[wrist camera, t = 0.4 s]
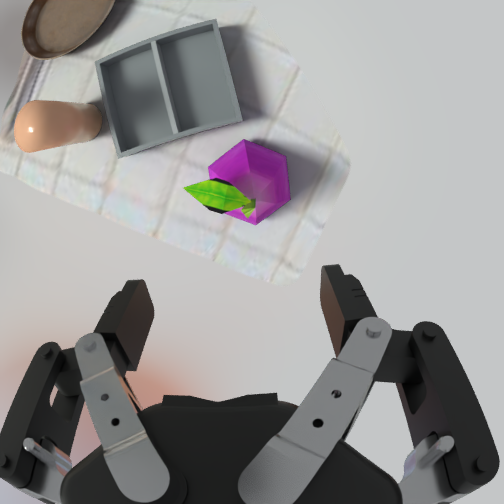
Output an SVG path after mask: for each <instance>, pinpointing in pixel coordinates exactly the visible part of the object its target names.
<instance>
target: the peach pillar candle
mask: <svg viewBox="0 0 504 504" xmlns="http://www.w3.org/2000/svg"><path fill="white" fill-rule="evenodd" d="M101 126H102V115H101V112H100V110H99V109H98V108H97V107H96V106H94V105H92V104H85V103H74V102H60V101H42V100H34V101H30V102H28V103H27V104H26V105H24V106H23V108H22V109H21V110H20V112H19V113H18V115H17V118H16V121H15V126H14V135H15V140H16V143H17V145H18V146H19V148H20V149H21V150H23V151H24V152H28V153H31V152H36V151H40V150H45V149H50V148H55V147H60V146H65V145H71V144H77V143H83V142H88V141H90V140H92V139H94V138H95V137H96V136H97V134H98V133H99V131H100V129H101Z"/></svg>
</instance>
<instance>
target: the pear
mask: <svg viewBox="0 0 504 504" xmlns="http://www.w3.org/2000/svg"><path fill="white" fill-rule="evenodd" d="M208 170H209V176H210V180H207V181H203V182H200V183H197V184H194V185H190V186H187V187H184V189H185V190H186V191H187V192H188V193H190V194H191V195H192V196H193V197H194V198H196V199H197V200H198V201H199V202H200V203H202V204H203V205H204V206H205V207H206V208H208V209H209V210H211V211H214V212H217V213H221V214H223V213H225V214H227V215H230V216H233V217H235V218H238V219H241V220H243V221H246V222H249V223H251V224H254V225H257V224H258V223H260V222H261V221H262V220H264V219H265V218H266V217H268V216H269V215H270V214H272V213H273V212H274V211H276V210H277V209H278V208H280V207H281V206H282V205H284V204H285V203H287V202H288V201H289V200H291V198H290V188H289V179H288V170H287V162H286V156H284V155H282V154H279V153H277V152H275V151H272V150H270V149H267V148H265V147H263V146H260V145H258V144H255V143H253V142H250V141H247V140H245V139H243V140H242V141H241V142H239V143H238V144H237V145H235V146H234V147H233V148H232V149H230V150H229V151H228V152H226V153H225V154H224V155H223V156H221V157H220V158H219V159H218V160H216V161H215V162H214V163H213V164H211V165H210V166H209V167H208Z"/></svg>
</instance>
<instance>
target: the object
mask: <svg viewBox="0 0 504 504" xmlns="http://www.w3.org/2000/svg"><path fill="white" fill-rule="evenodd" d="M114 3H115V0H33V1H32V3H31V4H30V6H29V8H28V10H27V12H26V15H25V18H24V21H23V25H22V31H21V38H22V44H23V47H24V49H25V51H26V52H27V53H28V54H29V55H30V56H31V57H33V58H35V59H39V60H49V59H54V58H58V57H60V56H63V55H65V54H67V53H69V52H71V51H72V50H74V49H76V48H77V47H78V46H80V45H81V44H83V43H84V42H85V41H86V40H88V39H89V38H90V37H91V36H92V35H93V34H94V33H95V32H96V31H97V30H98V29H99V27H100V26H101V25H102V24H103V22H104V21H105V20H106V18H107V17H108V15H109V13H110V12H111V10H112V8H113V6H114Z"/></svg>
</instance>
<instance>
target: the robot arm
mask: <svg viewBox="0 0 504 504" xmlns="http://www.w3.org/2000/svg"><path fill="white" fill-rule="evenodd" d="M320 301H321V307H322V311H323V314H324V317H325V320H326V324H327V327H328V331H329V334H330V337H331V341H332V344H333V348H334V351H335V354H336V358H333V359H331V361H330V362H329V363H328V365H327V367H326V368H325V370H324V371H323V373H322V374H321V376H320V377H319V379H318V380H317V382H316V383H315V384H314V386H313V387H312V389H311V390H310V392H309V393H308V395H307V396H306V397H305V399H304V400H303V402H302V403H301V404H300V406H297V405H294V404H291V403H288V402H284V401H278V398H277V393H269V394H254V395H245V396H241V397H238V398H234V399H230V400H225V401H221V402H215V401H210V400H205V399H201V398H197V397H192V396H178V395H164V396H163V401H162V403H159V404H155V405H152V406H150V407H148V408H146V409H144V410H143V408H142V406H141V405H140V403H139V401H138V399H137V397H136V395H135V394H134V391H133V390H132V388H131V386H130V384H129V382H128V380H127V378H126V377H125V374H126V371H136V370H137V367H138V364H139V360H140V357H141V354H142V351H143V348H144V345H145V342H146V339H147V336H148V333H149V330H150V327H151V325H152V322H153V319H154V306H153V303H152V300H151V298H150V295H149V292H148V289H147V286H146V283H145V281H144V280H142V279H141V280H128V281H127V282H126V284H125V286H124V287H123V289H122V291H119V292H117V293H116V294H115V295H114V296H113V297H112V298H111V300H110V302H109V304H108V305H107V307H106V309H105V311H104V313H103V315H102V316H101V319H100V320H99V322H98V324H97V326H96V328H95V330H94V332H93V333H90V334H87V335H85V336H83V337H81V338H80V339H79V340H78V342H77V343H76V345H75V347H74V348H69V349H65V350H61V348H60V346H59V345H58V344H57V343H55V342H48V343H45V344H44V345H42V346H41V347H40V348H39V349H38V350H37V352H36V354H35V355H34V357H33V359H32V361H31V363H30V366H29V368H28V370H27V371H26V374H25V376H24V378H23V380H22V382H21V384H20V386H19V389H18V391H17V393H16V395H15V398H14V400H13V403H12V405H11V407H10V410H9V412H8V415H7V417H6V420H5V422H4V425H3V428H2V431H1V433H0V478H2V479H3V480H5V481H7V482H8V483H10V484H11V485H12V486H13V487H15V488H17V489H18V490H20V491H22V492H24V493H25V494H27V495H29V496H31V497H33V498H36V499H38V500H40V501H42V502H44V503H46V504H55V503H57V504H450V503H452V502H454V501H456V500H458V499H460V498H462V497H464V496H466V495H467V494H469V493H471V492H473V491H475V490H476V489H478V488H480V487H481V486H483V485H485V484H487V483H488V482H489V481H491V480H492V479H493V478H494V476H495V475H496V473H497V471H498V469H499V462H500V461H499V455H498V452H497V449H496V446H495V444H494V440H493V437H492V435H491V432H490V429H489V427H488V424H487V421H486V419H485V416H484V414H483V411H482V409H481V406H480V404H479V402H478V399H477V397H476V395H475V392H474V390H473V388H472V386H471V384H470V382H469V379H468V377H467V375H466V373H465V371H464V369H463V367H462V365H461V363H460V361H459V359H458V357H457V355H456V353H455V351H454V349H453V347H452V345H451V343H450V342H449V340H448V338H447V336H446V334H445V332H444V331H443V329H442V328H441V327H440V326H439V325H437V324H435V323H433V322H427V321H424V322H420V323H418V324H416V325H415V326H414V328H413V331H401V330H394V329H392V328H391V326H390V325H389V324H388V323H387V322H386V321H385V320H383V319H381V318H378V317H377V315H376V312H375V311H374V308H373V306H372V304H371V302H370V301H369V299H368V297H367V296H366V293H365V291H364V290H363V287H362V285H361V283H360V281H359V280H358V279H356V278H355V277H354V276H353V275H350V274H349V275H344V273H343V271H342V269H341V267H340V265H339V264H336V265H326V266H322V270H321V288H320ZM375 381H378V382H393V383H396V386H397V389H398V392H399V396H400V399H401V402H402V406H403V409H404V412H405V416H406V419H407V423H408V427H409V430H410V434H411V438H412V442H413V446H414V450H413V451H412V452H411V453H410V454H409V455H408V456H407V458H406V460H405V463H404V476H403V479H402V481H401V482H400V483H399V484H397V482H396V481H395V480H394V479H393V478H392V477H391V476H390V475H389V474H387V473H386V472H385V471H383V470H382V469H380V468H379V467H378V466H377V465H375V464H374V463H372V462H371V461H370V460H368V459H367V458H366V457H364V456H363V455H361V454H360V453H359V452H358V451H357V450H355V449H354V448H353V447H351V446H350V445H349V444H347V443H346V442H345V440H346V438H347V436H348V434H349V433H350V431H351V429H352V427H353V425H354V423H355V421H356V419H357V417H358V415H359V413H360V411H361V409H362V407H363V405H364V403H365V401H366V399H367V397H368V395H369V393H370V391H371V389H372V387H373V385H374V383H375ZM54 385H55V386H56V387H57V388H58V391H57V394H56V397H55V399H54V402H53V405H52V407H51V406H50V395H51V392H52V390H53V387H54ZM84 402H86V405H87V408H88V410H89V413H90V416H91V419H92V421H93V424H94V427H95V429H96V432H97V434H98V437H99V439H100V442H101V445H100V446H99V447H98V448H97V449H95V450H94V451H93V452H92V453H90V454H89V455H88V456H87V457H86V458H84V459H83V460H82V461H80V462H79V463H78V464H77V465H76V466H74V467H73V468H72V463H71V460H70V458H69V457H70V452H71V448H72V444H73V440H74V436H75V432H76V429H77V425H78V422H79V418H80V415H81V411H82V408H83V405H84Z"/></svg>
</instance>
